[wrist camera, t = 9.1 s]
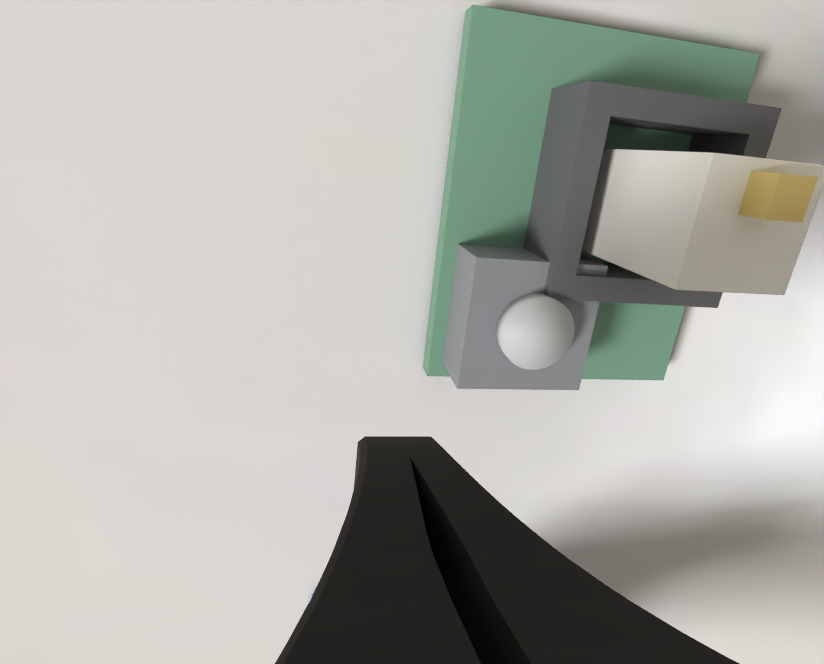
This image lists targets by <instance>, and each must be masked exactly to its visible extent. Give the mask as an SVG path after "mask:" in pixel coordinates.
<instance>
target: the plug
mask: <svg viewBox="0 0 824 664" xmlns="http://www.w3.org/2000/svg"><path fill="white" fill-rule="evenodd" d="M823 185H824V165H820V164H811V163H802V162H793V161H784V160H775V159H766V158H757V157H748V156H739V155H730V154H721V153H709V152H681V151H653V150H625V149H603V154H602V159H601V163H600V168H599V172H598V177H597V182H596V186H595V191H594V195H593V200H592V205H591V209H590V214H589V219H588V223H587V228H586V232H585V237H584V242H583V246H582V251H585V252H587V253H589V254H592V255H594V256H597V257H599V258H601V259H604V260H606V261H608V262H611V263H613V264H616V265H618V266H620V267H623V268H625V269H627V270H630V271H632V272H635V273H637V274H639V275H642V276H644V277H647V278H649V279H651V280H654V281H656V282H658V283H661V284H663V285H666V286H668V287H670V288H673V289H675V290H691V291H712V292H732V293H753V294H773V295H784V294H785V292H786V289H787V286H788V283H789V280H790V278H791V275H792V272H793V269H794V266H795V263H796V261H797V258H798V255H799V252H800V249H801V247H802V244H803V241H804V238H805V235H806V233H807V230H808V227H809V224H810V221H811V218H812V216H813V213H814V210H815V207H816V204H817V202H818V199H819V196H820V193H821V190H822V188H823Z"/></svg>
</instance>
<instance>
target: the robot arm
mask: <svg viewBox="0 0 824 664" xmlns="http://www.w3.org/2000/svg"><path fill="white" fill-rule="evenodd" d="M275 664H739V663H737V662H735V661H733V660H731V659H729V658H727V657H725V656H724V655H722V654H720V653H718V652H716V651H715V650H713V649H711V648H709V647H707V646H706V645H704V644H702V643H700V642H698V641H696V640H695V639H693V638H691V637H689V636H687V635H686V634H684V633H682V632H681V631H679V630H677V629H676V628H674V627H672V626H671V625H669V624H667V623H666V622H664V621H662V620H661V619H659V618H657V617H656V616H654V615H652V614H651V613H649V612H647V611H646V610H644V609H642V608H641V607H639V606H637V605H636V604H634V603H632V602H631V601H629V600H628V599H626V598H625V597H623V596H622V595H620V594H619V593H617V592H615V591H614V590H612V589H611V588H609V587H608V586H606V585H605V584H603V583H602V582H601V581H599V580H598V579H596V578H595V577H594V576H592V575H591V574H589V573H588V572H586V571H585V570H584V569H582V568H581V567H579V566H578V565H576V564H575V563H574V562H572V561H571V560H569V559H568V558H567V557H565V556H564V555H563V554H561V553H560V552H559V551H557V550H556V549H555V548H553V547H552V546H551V545H549V544H548V543H547V542H546V541H544V540H543V539H542V538H541V537H540V536H538V535H537V534H536V533H535V532H533V531H532V530H531V529H530V528H529V527H527V526H526V525H525V524H524V523H523V522H521V521H520V520H519V519H518V518H517V517H515V516H514V515H513V514H512V513H511V512H510V511H508V510H507V509H506V508H505V507H504V506H503V505H502V504H501V503H499V502H498V501H497V500H496V499H495V498H494V497H493V496H492V495H491V494H490V493H489V492H487V491H486V490H485V489H484V488H483V487H482V486H481V485H480V484H479V483H478V482H477V481H476V480H475V479H474V478H473V477H472V476H471V475H470V474H469V473H468V472H466V471H465V470H464V469H463V468H462V467H461V466H460V465H459V464H458V463H457V462H456V461H455V460H454V459H453V458H452V457H451V456H450V455H449V454H448V453H447V452H446V451H445V450H444V449H443V448H442V447H441V446H440V445H439V444H438V443H437V442H436V441H435V440H434V439H433V438H432V437H364V438H363V439H361V440H360V441H359V442H358V448H357V460H356V471H355V483H354V492H353V495H352V499H351V503H350V506H349V510H348V513H347V516H346V518H345V521H344V524H343V526H342V529H341V532H340V534H339V537H338V540H337V542H336V545H335V548H334V550H333V552H332V555H331V557H330V559H329V562H328V564H327V566H326V568H325V571H324V573H323V575H322V577H321V579H320V581H319V583H318V585H317V587H316V590H315V592H314V593H313V594H311V595H310V596H309V598H308V606H307V607H306V609H305V611H304V613H303V615H302V617H301V618H300V620H299V622H298V624H297V626H296V628H295V629H294V631H293V633H292V635H291V637H290V639H289V640H288V642H287V644H286V646H285V647H284V649H283V651H282V653H281V654H280V656H279V658H278V659H277V661H276V663H275Z"/></svg>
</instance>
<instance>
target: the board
mask: <svg viewBox="0 0 824 664" xmlns="http://www.w3.org/2000/svg"><path fill="white" fill-rule="evenodd" d="M759 57H760V54H758V53H752V52H746V51H741V50H735V49H729V48H723V47H717V46H711V45H705V44H700V43H694V42H688V41H682V40H676V39H670V38H664V37H659V36H653V35H647V34H641V33H635V32H629V31H623V30H618V29H612V28H606V27H600V26H594V25H588V24H582V23H577V22H571V21H565V20H559V19H553V18H547V17H541V16H536V15H530V14H524V13H518V12H512V11H506V10H500V9H494V8H489V7H483V6H477V5H472V6H471V7H470V8H469V9H467V10H466V11H465V19H464V27H463V36H462V44H461V53H460V61H459V69H458V78H457V86H456V94H455V103H454V111H453V120H452V128H451V136H450V145H449V153H448V161H447V170H446V178H445V187H444V195H443V203H442V212H441V220H440V228H439V237H438V245H437V253H436V262H435V270H434V279H433V287H432V295H431V304H430V312H429V320H428V329H427V337H426V346H425V354H424V362H423V368H424V370H425V373H426V375H427V376H451V378H452V380H453V382H454V384H455V385H456V387H457V388H461V389H538V390H579V387H580V383H581V379H622V380H664V376H665V373H666V370H667V366H668V363H669V360H670V356H671V353H672V350H673V346H674V343H675V339H676V336H677V333H678V329H679V326H680V323H681V319H682V316H683V313H684V309H685V306H693V307H712V308H718V305H719V302H720V299H721V296H722V293H723V292H712V291H691V290H675V289H673V288H670V287H668V286H666V285H663V284H661V283H658V282H656V281H654V280H651V279H649V278H647V277H644V276H642V275H639V274H637V273H635V272H632V271H630V270H627V269H625V268H623V267H620V266H618V265H616V264H613V263H611V262H608V261H606V260H604V259H601V258H599V257H597V256H594V255H592V254H589V253H587V252H585V251H582V246H583V242H584V237H585V232H586V228H587V223H588V219H589V214H590V209H591V205H592V200H593V195H594V191H595V186H596V182H597V177H598V172H599V168H600V163H601V159H602V154H603V149H625V150H653V151H681V152H709V153H721V154H730V155H739V156H748V157H757V158H766V155H767V152H768V149H769V146H770V143H771V139H772V136H773V133H774V130H775V127H776V124H777V121H778V118H779V114H780V111H781V108H775V107H768V106H761V105H754V104H748V103H746V101H747V97H748V94H749V90H750V87H751V84H752V80H753V77H754V74H755V70H756V67H757V63H758V60H759Z"/></svg>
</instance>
